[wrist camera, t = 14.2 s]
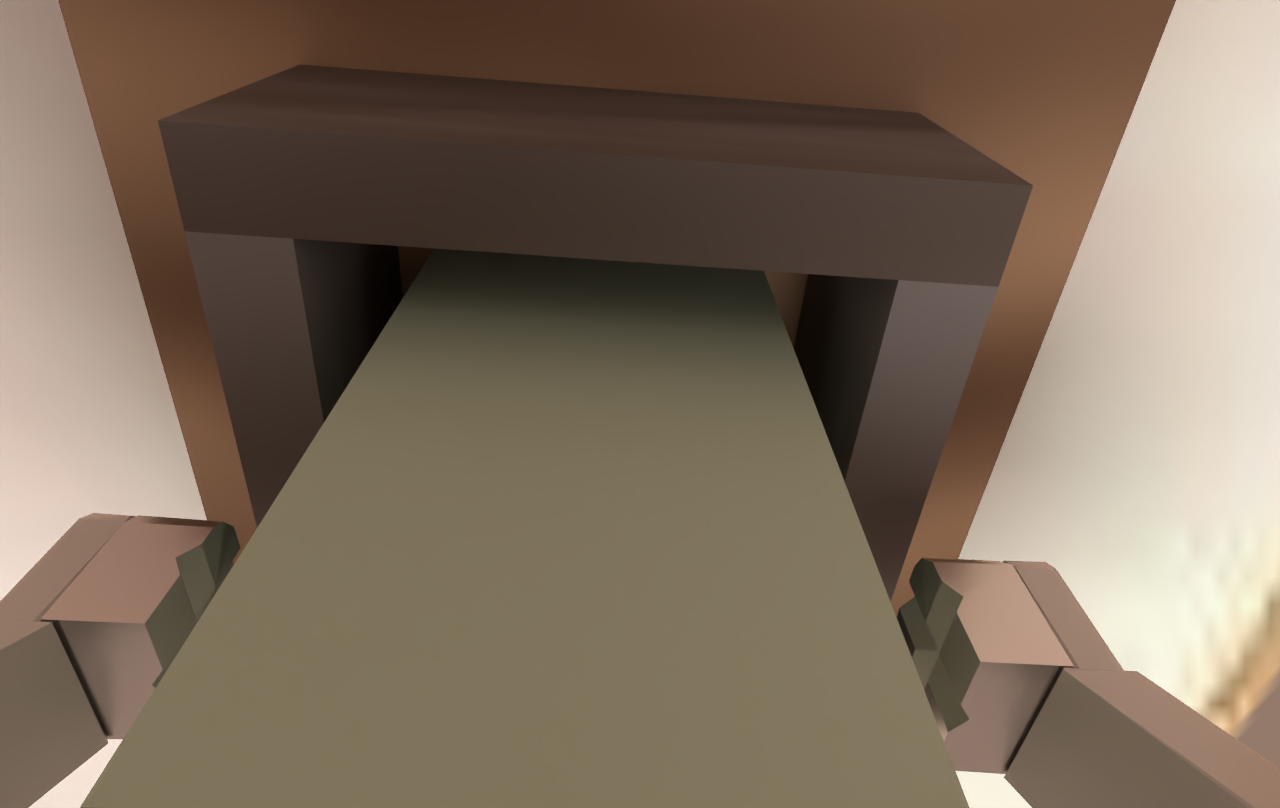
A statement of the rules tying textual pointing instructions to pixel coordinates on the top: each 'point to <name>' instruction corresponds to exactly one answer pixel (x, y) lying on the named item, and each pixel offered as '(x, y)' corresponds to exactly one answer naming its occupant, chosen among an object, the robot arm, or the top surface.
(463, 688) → the peg block
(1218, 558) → the top surface
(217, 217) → the holder
